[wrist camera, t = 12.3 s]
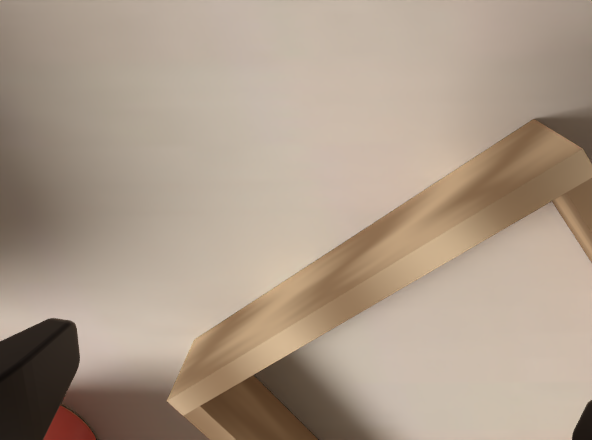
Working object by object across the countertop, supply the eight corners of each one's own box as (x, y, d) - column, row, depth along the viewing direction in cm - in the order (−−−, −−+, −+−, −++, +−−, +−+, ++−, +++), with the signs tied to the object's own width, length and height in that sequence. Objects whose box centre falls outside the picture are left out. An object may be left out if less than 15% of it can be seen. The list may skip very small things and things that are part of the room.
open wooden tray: (533, 119, 18) (582, 148, 14) (719, 417, 23) (791, 496, 19) (194, 340, 24) (166, 401, 20) (399, 539, 28) (407, 617, 25)
